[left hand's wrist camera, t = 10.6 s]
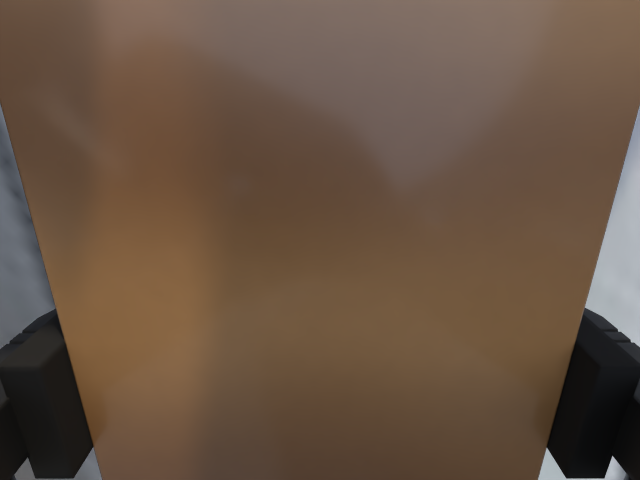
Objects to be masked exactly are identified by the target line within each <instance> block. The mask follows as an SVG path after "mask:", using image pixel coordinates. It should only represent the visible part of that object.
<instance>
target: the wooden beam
mask: <svg viewBox="0 0 640 480" xmlns="http://www.w3.org/2000/svg"><path fill="white" fill-rule="evenodd" d="M0 103H1V107H2V111H3V115H4V118H5V122H6V126H7V129H8V133H9V137H10V140H11V144H12V148H13V151H14V155H15V159H16V163H17V166H18V170H19V174H20V177H21V181H22V185H23V188H24V192H25V196H26V199H27V203H28V207H29V211H30V214H31V218H32V222H33V225H34V229H35V233H36V236H37V240H38V244H39V248H40V251H41V255H42V259H43V262H44V266H45V270H46V273H47V277H48V281H49V284H50V288H51V292H52V296H53V299H54V303H55V307H56V310H57V314H58V318H59V321H60V325H61V329H62V333H63V336H64V340H65V344H66V347H67V351H68V355H69V358H70V362H71V366H72V369H73V373H74V377H75V381H76V384H77V388H78V392H79V395H80V399H81V403H82V406H83V410H84V414H85V417H86V421H87V425H88V429H89V432H90V436H91V440H92V443H93V447H94V451H95V454H96V458H97V462H98V466H99V469H100V473H101V477H102V480H538V477H539V474H540V470H541V466H542V463H543V459H544V455H545V452H546V448H547V444H548V441H549V437H550V433H551V430H552V426H553V422H554V418H555V415H556V411H557V407H558V404H559V400H560V396H561V393H562V389H563V385H564V382H565V378H566V374H567V371H568V367H569V363H570V360H571V356H572V352H573V349H574V345H575V341H576V337H577V334H578V330H579V326H580V323H581V319H582V315H583V312H584V308H585V304H586V301H587V297H588V293H589V290H590V286H591V282H592V279H593V275H594V271H595V268H596V264H597V260H598V256H599V253H600V249H601V245H602V242H603V238H604V234H605V231H606V227H607V223H608V220H609V216H610V212H611V209H612V205H613V201H614V198H615V194H616V190H617V187H618V183H619V179H620V175H621V172H622V168H623V164H624V161H625V157H626V153H627V150H628V146H629V142H630V139H631V135H632V131H633V128H634V124H635V120H636V117H637V113H638V109H639V106H640V0H0Z"/></svg>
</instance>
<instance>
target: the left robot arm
mask: <svg viewBox="0 0 640 480" xmlns="http://www.w3.org/2000/svg"><path fill="white" fill-rule="evenodd" d="M92 448H93V443H92V440H91V436H90V432H89V429H88V425H87V421H86V417H85V414H84V410H83V406H82V403H81V399H80V395H79V392H78V388H77V384H76V381H75V377H74V373H73V369H72V366H71V362H70V358H69V355H68V351H67V347H66V344H65V340H64V336H63V333H62V329H61V325H60V321H59V318H58V314H57V310H56V309H55V310H53V311H51V312H49V313H47V314H45V315H43V316H41V317H39V318H37V319H36V320H35V321H34V322H33V323H31V324H30V325H29V326H28V327H27V328H25V329H24V330H23V332H22V333H19V334H18V335H17V336H16V337H15V338H13V339H12V340H11V341H10V344H6V345H5V346H4V347H3V348H1V349H0V480H16V478H15V476H14V474H15V473H16V472H17V470H18V469H19V468H20V466H21V465H22V464H23V463H24V461H25V460H26V459H27V457H28V459H29V461H30V464H31V467H32V470H33V473H34V475H35V478H74V477H75V475H76V474H77V472H78V470H79V469H80V467H81V466H82V464H83V462H84V461H85V459H86V458H87V456H88V454H89V453H90V451H91V450H92ZM547 448H548V450H549V451H550V453H551V455H552V456H553V458H554V459H555V461H556V463H557V464H558V466H559V467H560V469H561V471H562V472H563V474H564V475H565V477H566V478H605V475H606V472H607V469H608V466H609V464H610V461H611V458H612V455H613V457H614V458H615V459H616V460H617V462H618V463H619V464H620V466H621V467H622V468H623V469H624V471H625V472H626V476H625V478H624V480H640V347H639V346H637V345H636V344H635V343H631V340H630V339H629V338H628V337H626V336H625V335H624V334H623V333H622V332H618V329H617V328H616V327H614V326H613V325H612V324H611V323H609V322H608V321H607V320H606V319H605V318H603V317H602V316H600V315H598V314H596V313H594V312H592V311H590V310H588V309H586V308H584V312H583V315H582V319H581V323H580V326H579V330H578V334H577V337H576V341H575V345H574V349H573V352H572V356H571V360H570V363H569V367H568V371H567V374H566V378H565V382H564V385H563V389H562V393H561V396H560V400H559V404H558V407H557V411H556V415H555V418H554V422H553V426H552V430H551V433H550V437H549V441H548V444H547Z"/></svg>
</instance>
